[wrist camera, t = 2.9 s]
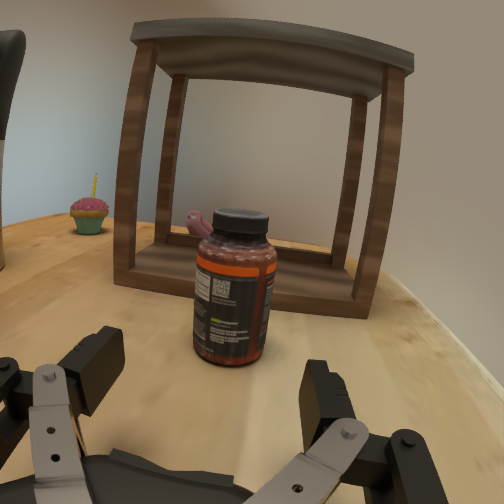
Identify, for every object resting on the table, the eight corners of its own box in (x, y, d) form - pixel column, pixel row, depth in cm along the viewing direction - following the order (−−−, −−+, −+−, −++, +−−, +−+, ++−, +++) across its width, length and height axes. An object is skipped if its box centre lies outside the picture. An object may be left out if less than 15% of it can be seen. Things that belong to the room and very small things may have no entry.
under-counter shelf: (375, 321, 32) (413, 53, 25) (105, 283, 33) (134, 22, 25) (343, 275, 49) (369, 88, 41) (153, 249, 49) (174, 65, 42)
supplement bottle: (252, 330, 28) (269, 209, 25) (272, 367, 22) (297, 222, 20) (189, 330, 26) (197, 203, 24) (195, 370, 21) (205, 215, 18)
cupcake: (82, 226, 60) (84, 172, 57) (115, 230, 60) (118, 173, 57) (62, 234, 51) (64, 173, 48) (97, 238, 52) (100, 174, 49)
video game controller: (195, 241, 66) (183, 211, 64) (215, 233, 66) (203, 203, 64) (193, 253, 57) (178, 218, 55) (215, 244, 57) (201, 209, 55)
